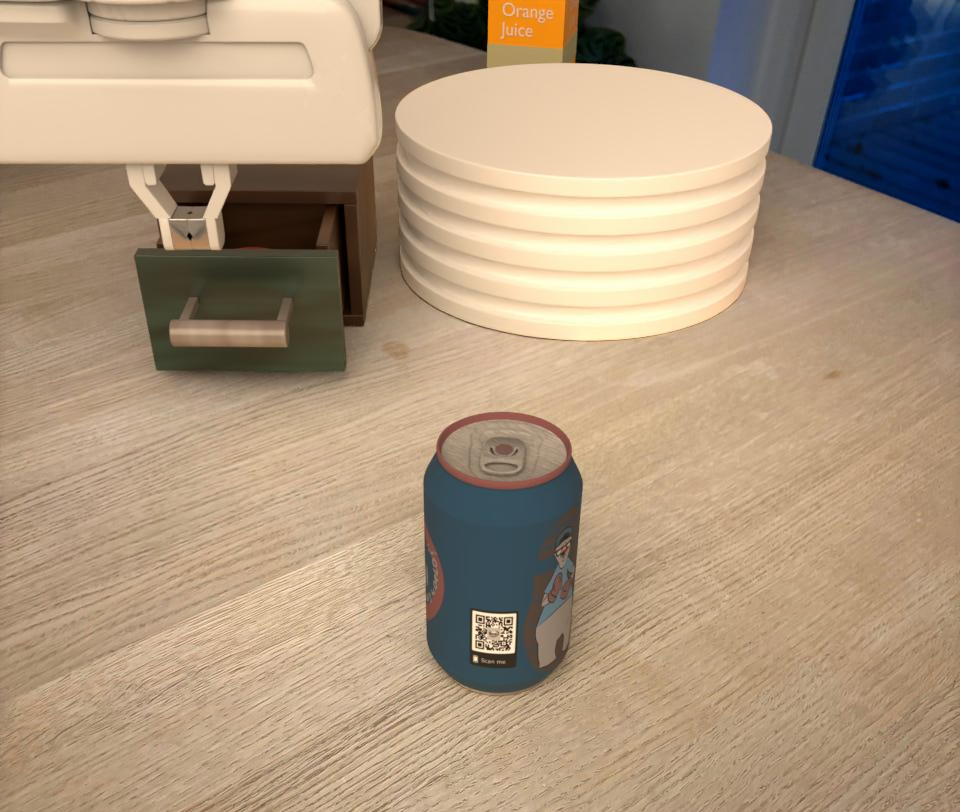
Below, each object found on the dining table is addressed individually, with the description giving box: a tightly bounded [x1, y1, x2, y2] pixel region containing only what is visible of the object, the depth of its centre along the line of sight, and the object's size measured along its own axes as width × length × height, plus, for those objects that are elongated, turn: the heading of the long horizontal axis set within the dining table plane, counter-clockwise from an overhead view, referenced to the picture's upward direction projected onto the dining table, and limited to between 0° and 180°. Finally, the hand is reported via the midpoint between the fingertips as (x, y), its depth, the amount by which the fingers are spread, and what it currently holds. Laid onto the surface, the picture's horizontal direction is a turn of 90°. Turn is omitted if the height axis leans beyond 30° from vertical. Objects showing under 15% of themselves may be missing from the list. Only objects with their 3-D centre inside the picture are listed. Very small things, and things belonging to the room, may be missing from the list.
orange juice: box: [486, 0, 580, 68], centre depth 112 cm, size 8×9×20 cm
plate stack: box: [394, 62, 773, 342], centre depth 88 cm, size 28×28×12 cm
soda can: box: [422, 411, 584, 696], centre depth 51 cm, size 7×7×12 cm
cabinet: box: [156, 154, 378, 327], centre depth 85 cm, size 16×14×10 cm
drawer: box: [133, 203, 349, 373], centre depth 76 cm, size 20×13×8 cm, turn 0°
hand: (195, 246), depth 59 cm, fingers closed
